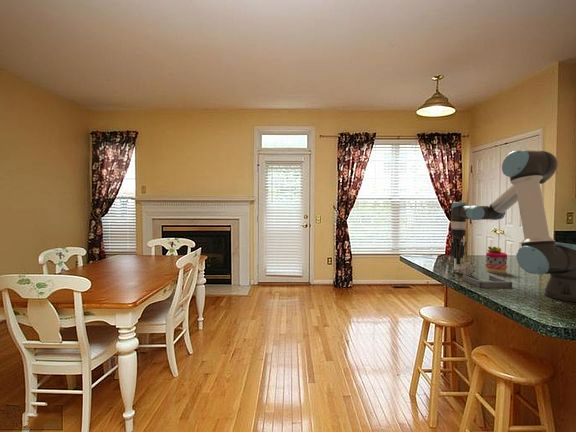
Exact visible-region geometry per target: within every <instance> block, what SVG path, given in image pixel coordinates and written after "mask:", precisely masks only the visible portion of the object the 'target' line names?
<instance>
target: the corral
mask: <svg viewBox="0 0 576 432" xmlns="http://www.w3.org/2000/svg"><path fill="white" fill-rule="evenodd" d="M461 280H462V281H465V282H467V283H469V284H471V285H474V286H477V287H479V288H513V282H512V281H510V280H506V279H504V278H501V277H497V276H495V275H492V274H488V281H481V280H478V279H476V278H473V277H472V276H470V275H467V276H466V275H464V274H462V277H461Z"/></svg>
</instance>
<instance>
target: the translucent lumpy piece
mask: <svg viewBox="0 0 576 432" xmlns="http://www.w3.org/2000/svg"><path fill="white" fill-rule="evenodd" d="M459 266H460V269H459V270H457V271H458V272H460V273H461V275H466V276H470V277H472V276H473V274H474V273H476V271H475V268H476V266H474V265H473V262H468V260H466V261H464V262H463V261H461V263H460V265H459Z"/></svg>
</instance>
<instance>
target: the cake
mask: <svg viewBox="0 0 576 432" xmlns="http://www.w3.org/2000/svg"><path fill="white" fill-rule="evenodd" d="M485 258H486V260H485V261H486V263H485V267H486V268H485V271H486V272H487V273H492V274H500V275H501V274H502V275H503V274H507V269H508V264H507V262H508V254H507V253H505V252H502V248H501V247H498V246H493V247H492V246H491V245H489V246H488V249H487V252H486V257H485Z"/></svg>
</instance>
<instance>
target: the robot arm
mask: <svg viewBox="0 0 576 432" xmlns="http://www.w3.org/2000/svg"><path fill="white" fill-rule="evenodd" d="M558 163H559V162H558V159H557V158H556V156H555V155H554V154H553V153H551V152H549V151H545V150H526V149H520V150H513V151H511V152H509V153H508V154H507V155H506V156H505V158H504V159H503V160H502V164H501V171H502V173H503V175H505V176H506V177H508V178H509V181H510V184H511V186H509V187H507V189H506V190H505V191H503V193H501V195H499V196H498V197H497V198H496V199H495V200H494V201H492V202H491V203H490V204H489V205H467V202H464V201H463V202H462V201H453V202H452V204H451V209H450V210H451V218H450V219H451V220H450V228H451V230H450V236H452V238H451V239H449V243H450V248H451V249H450V251H451V257H453V270H454V271H455V270H456V271H458V270H459V269H460V266H459V265H461V259H463V258H464V254H465V248H466V245H467V242H466V241H464V237H465V236H466V232H467V231H466V228H467V227H466V226H467V220H471V221H479V220H481V221H482V220H490V221H498V220H502V219H504V218H505V216H506V212H507V211H508V210H509V209H510V208H511V207H512V206H514V205H515V204H516V203H517V204H518V208H519V213H520V214H519V215H520V222H521V226H522V233H523V239H522V241H521V242H520V245H521V247H520V248H519V249H518V250H517V252H516V255H515V256H516V261H517V264H518V265H519V267H520V268H521V269H522V270H524V272H526V273H529V274H532V275H549V279H548V281H547V284H546V286H545V287H544V289H543V291H544V292H543V294H544V296H546V297H549V298H553V299H555V300H559V301H565V302H573V303H574V302H575V303H576V244H571V243H564V242H556V240H555V239H553V238H552V237H551V236H550V232H549V231H550V230H549V228H548V227H549V226H548V222H547V217H546V211H545V207H544V200H543V195H542V189H541V185H543V184H545V183H546V182H548V181H549V179H550V180H551V178H552V177H553V176H554V175H555V173H556V171H557V169H558V166H559V165H558ZM459 271H460V270H459Z"/></svg>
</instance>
